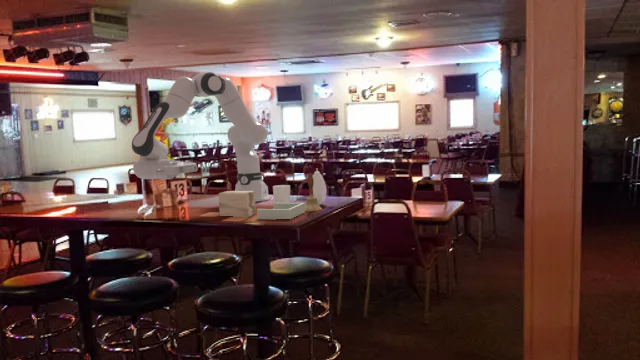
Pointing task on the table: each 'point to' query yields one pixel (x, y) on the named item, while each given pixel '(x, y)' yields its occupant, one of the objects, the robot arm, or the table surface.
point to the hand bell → (311, 197)
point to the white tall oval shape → (319, 187)
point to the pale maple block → (237, 203)
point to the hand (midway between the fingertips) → (195, 168)
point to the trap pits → (214, 214)
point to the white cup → (281, 193)
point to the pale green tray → (282, 211)
